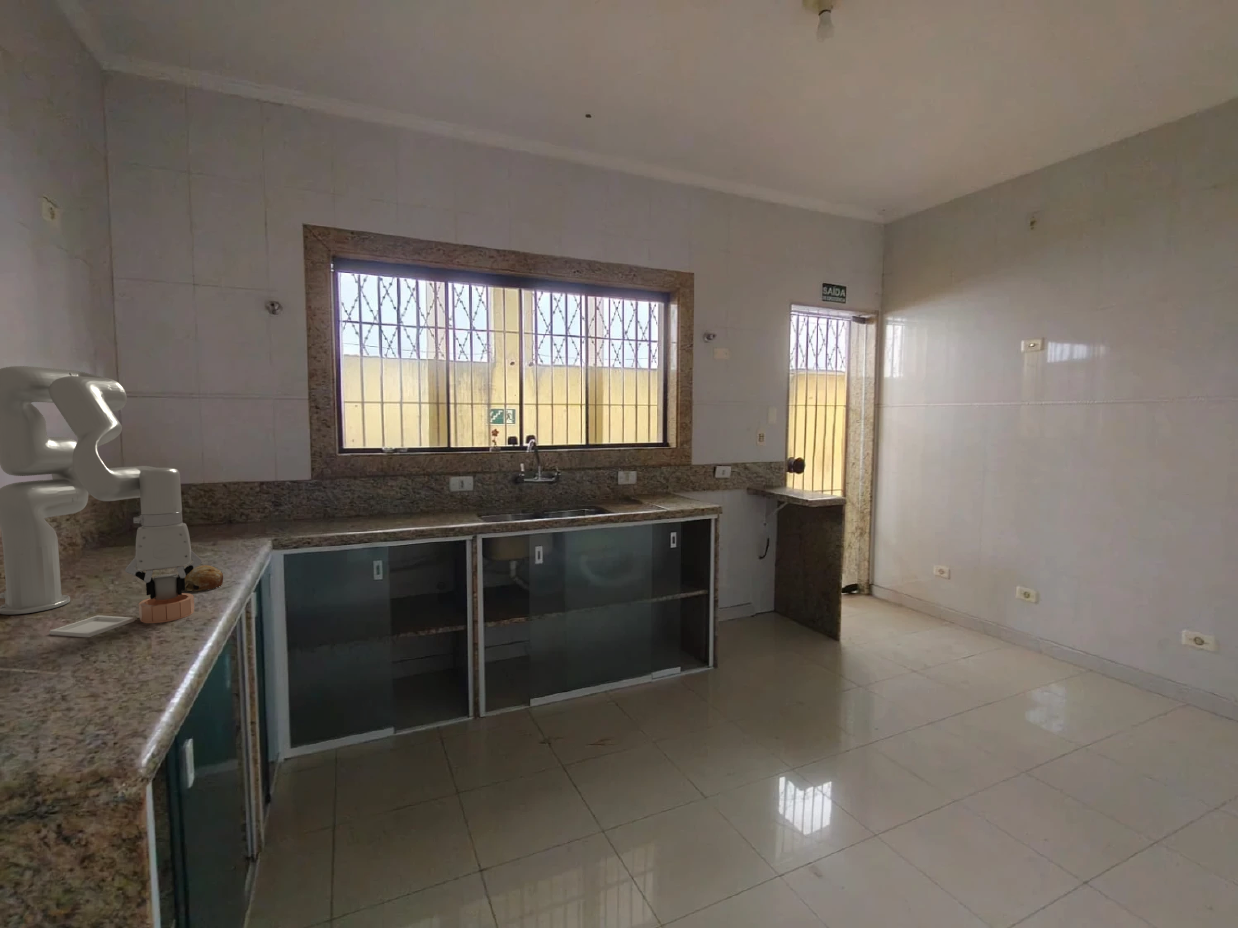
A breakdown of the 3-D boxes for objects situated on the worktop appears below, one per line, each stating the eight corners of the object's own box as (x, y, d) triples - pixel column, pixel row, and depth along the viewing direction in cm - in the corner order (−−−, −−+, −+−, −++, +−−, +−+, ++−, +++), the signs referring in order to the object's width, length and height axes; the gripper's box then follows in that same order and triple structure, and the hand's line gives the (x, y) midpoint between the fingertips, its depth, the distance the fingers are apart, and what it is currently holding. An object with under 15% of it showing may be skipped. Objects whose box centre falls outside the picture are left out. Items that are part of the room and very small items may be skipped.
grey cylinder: (149, 599, 133) (148, 578, 133) (167, 593, 138) (166, 573, 138) (166, 600, 133) (164, 579, 132) (183, 594, 137) (182, 574, 137)
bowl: (128, 623, 132) (127, 605, 131) (168, 609, 141) (167, 592, 141) (166, 625, 130) (165, 607, 130) (204, 611, 140) (203, 594, 140)
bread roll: (177, 604, 156) (170, 582, 153) (192, 579, 165) (185, 557, 161) (219, 601, 159) (212, 579, 155) (231, 577, 168) (225, 555, 164)
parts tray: (49, 635, 123) (49, 630, 123) (97, 620, 133) (97, 615, 133) (88, 638, 122) (88, 633, 122) (134, 622, 132) (134, 617, 132)
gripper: (112, 526, 126) (117, 606, 127) (206, 518, 136) (210, 593, 137) (116, 521, 132) (121, 597, 133) (206, 514, 142) (209, 585, 143)
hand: (166, 594), depth 135 cm, fingers closed on grey cylinder, 4 cm apart
